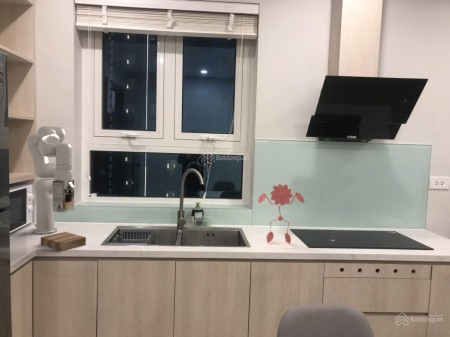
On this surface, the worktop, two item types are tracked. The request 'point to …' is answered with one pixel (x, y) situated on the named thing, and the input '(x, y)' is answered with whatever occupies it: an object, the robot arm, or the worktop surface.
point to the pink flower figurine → (282, 197)
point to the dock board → (63, 241)
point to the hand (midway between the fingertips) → (63, 200)
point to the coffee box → (61, 198)
